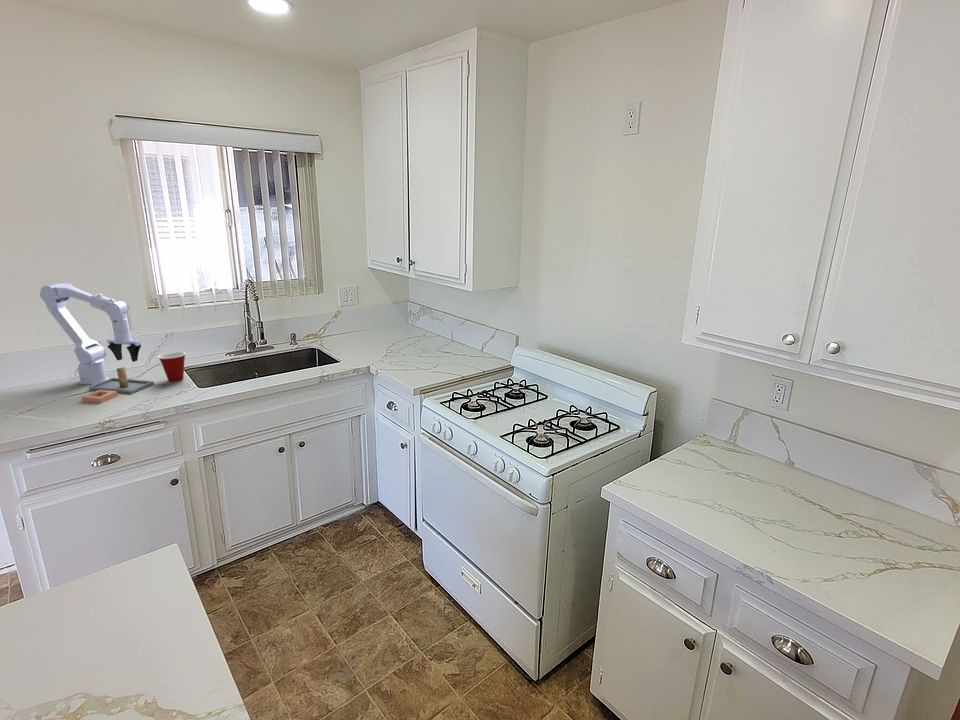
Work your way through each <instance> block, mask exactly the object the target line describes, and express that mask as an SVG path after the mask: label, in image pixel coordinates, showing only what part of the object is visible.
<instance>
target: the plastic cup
mask: <svg viewBox="0 0 960 720" xmlns="http://www.w3.org/2000/svg"><path fill="white" fill-rule="evenodd" d="M186 356H187V355H186V352H184V351H178V352H177V351H175V352H168V353H163V354H160V355H158V356H157V358H158V359H159V361H160V363H161V365H162V368H163V371H164V373H165V376H166V377H167V381H168V382H170V383H177V382H180V381H183V380H184V377H185V376H184V373H185V359H186Z"/></svg>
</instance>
